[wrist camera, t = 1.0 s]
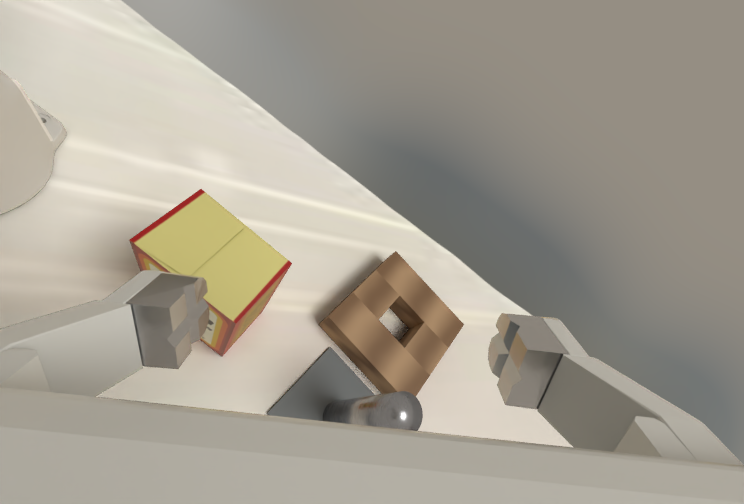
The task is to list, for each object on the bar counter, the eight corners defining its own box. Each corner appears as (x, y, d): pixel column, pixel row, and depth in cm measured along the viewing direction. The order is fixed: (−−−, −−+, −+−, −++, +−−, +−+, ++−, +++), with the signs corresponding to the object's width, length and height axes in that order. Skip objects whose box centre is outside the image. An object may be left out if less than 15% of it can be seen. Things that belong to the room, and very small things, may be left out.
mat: (266, 413, 38) (267, 413, 37) (329, 347, 43) (330, 347, 43) (342, 495, 38) (343, 496, 37) (394, 418, 43) (396, 418, 43)
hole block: (318, 324, 44) (328, 316, 41) (383, 261, 52) (395, 251, 49) (393, 406, 44) (409, 404, 41) (446, 330, 52) (463, 324, 49)
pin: (317, 417, 39) (378, 414, 26) (336, 394, 41) (402, 382, 28) (336, 438, 39) (407, 446, 26) (354, 414, 41) (429, 411, 28)
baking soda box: (262, 311, 42) (293, 261, 29) (222, 356, 38) (236, 322, 25) (198, 261, 41) (200, 186, 28) (151, 302, 37) (128, 237, 24)
